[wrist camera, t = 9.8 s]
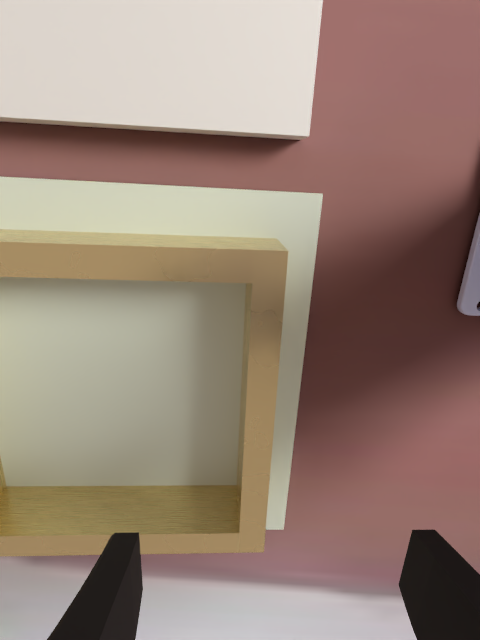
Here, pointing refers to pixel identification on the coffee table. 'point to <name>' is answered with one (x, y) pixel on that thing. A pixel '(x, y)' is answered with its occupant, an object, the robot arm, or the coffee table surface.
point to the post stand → (161, 65)
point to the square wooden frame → (255, 405)
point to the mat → (144, 343)
